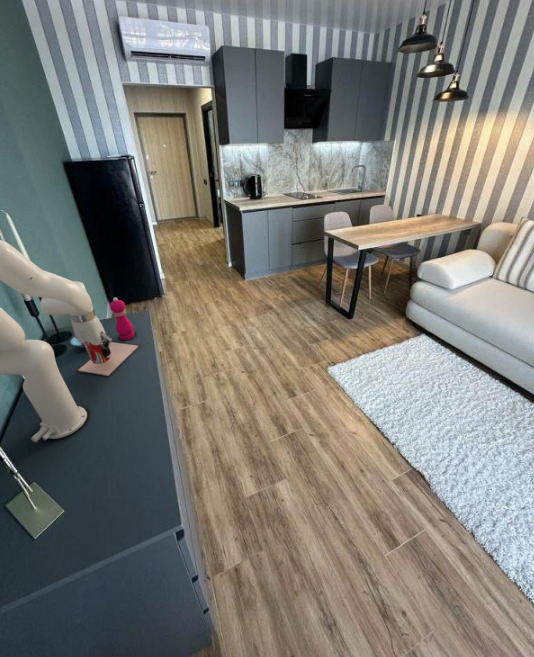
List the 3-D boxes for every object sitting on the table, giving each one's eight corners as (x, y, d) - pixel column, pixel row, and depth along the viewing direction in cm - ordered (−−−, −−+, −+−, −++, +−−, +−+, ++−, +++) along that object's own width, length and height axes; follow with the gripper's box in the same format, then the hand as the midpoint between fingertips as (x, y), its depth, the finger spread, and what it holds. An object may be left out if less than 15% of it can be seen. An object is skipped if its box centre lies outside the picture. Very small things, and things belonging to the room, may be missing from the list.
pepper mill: (135, 338, 139) (123, 299, 128) (119, 342, 137) (105, 302, 126) (135, 330, 145) (123, 292, 134) (119, 334, 142) (106, 295, 132)
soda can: (106, 365, 118) (96, 340, 112) (88, 366, 119) (77, 340, 112) (114, 354, 124) (105, 330, 118) (97, 354, 124) (87, 330, 118)
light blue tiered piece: (100, 349, 132) (93, 332, 128) (73, 356, 129) (65, 338, 124) (100, 330, 146) (94, 313, 141) (76, 335, 143) (68, 319, 138)
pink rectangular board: (108, 375, 117) (107, 375, 117) (78, 371, 120) (77, 370, 120) (138, 346, 134) (138, 345, 133) (111, 342, 137) (111, 342, 136)
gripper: (55, 318, 109) (73, 357, 119) (96, 323, 105) (112, 363, 115) (71, 308, 115) (87, 346, 125) (110, 312, 111) (124, 351, 121)
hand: (99, 353), depth 120 cm, fingers closed on soda can, 7 cm apart
